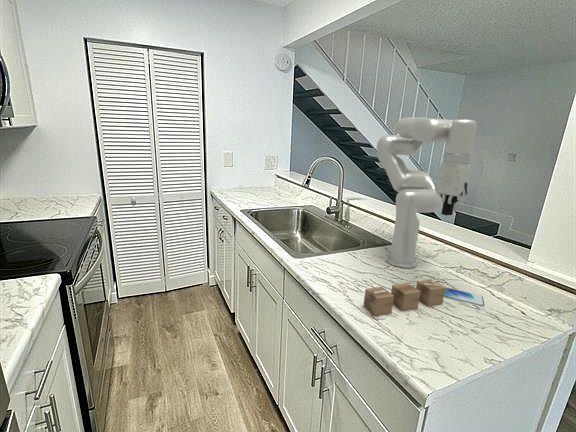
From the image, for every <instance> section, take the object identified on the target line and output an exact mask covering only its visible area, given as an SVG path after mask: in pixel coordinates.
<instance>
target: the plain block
mask: <svg viewBox="0 0 576 432" xmlns="http://www.w3.org/2000/svg"><path fill="white" fill-rule="evenodd" d="M390 293H391V294H392V295H394V300H393V305H394V307H396V308H397V309H399V310H400V311H401V312H408V311H411V310H413V311H414V310H417V309H419V303H420V301H419V299H420V293H421V291H419V290H418V289H416V287H414V286H413V285H412V284H410V283H408V282H405V283H397V284H392V286H391V291H390Z"/></svg>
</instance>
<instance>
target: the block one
mask: <svg viewBox="0 0 576 432" xmlns="http://www.w3.org/2000/svg"><path fill="white" fill-rule="evenodd" d="M393 300H394V295H392V294H391V291H388V290H387V289H386V288H385V287H383V286H378V287H372V288H371V287H370V288H365V290H364V299H363V308H365V309H366V310H367V311H368V312H369V313H370V314H372V316H374V317H379V316H380V317H381V316H384V315H389V314H390V315H391V314H392V311H393Z"/></svg>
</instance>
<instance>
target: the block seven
mask: <svg viewBox="0 0 576 432" xmlns="http://www.w3.org/2000/svg"><path fill="white" fill-rule="evenodd" d="M445 287H446V286H444V285H442V284H440V283H439V282H437V281H435V280H433V279H424V280H417V281H416V287H415V288H416V289H418V290H419V291H421V293H420V299H419V303H422V304H423V305H424V306H425V307H428V308H429V307H434V306H440V305H443V301H444V298H445V297H444V293H445Z"/></svg>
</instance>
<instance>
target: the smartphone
mask: <svg viewBox="0 0 576 432" xmlns="http://www.w3.org/2000/svg"><path fill="white" fill-rule="evenodd" d="M444 287H445V293H444V298H445V299H451V300H454V301H460V302H464V303H468V304H472V305H475V306H480V307H485V302H484V301H485V300H484V296H483V295H479V294H476V293H471V292H467V291H462V290H458V289H454V288H450V287H446V286H444Z"/></svg>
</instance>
